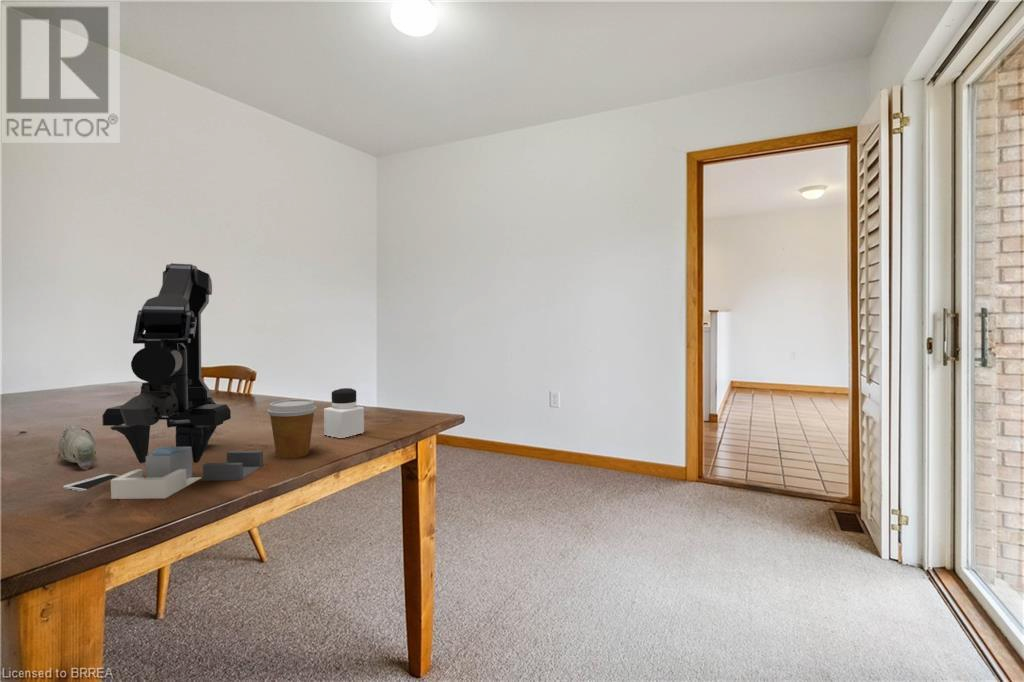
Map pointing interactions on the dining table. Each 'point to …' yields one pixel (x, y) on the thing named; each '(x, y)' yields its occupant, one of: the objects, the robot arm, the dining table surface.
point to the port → (149, 485)
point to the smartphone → (89, 482)
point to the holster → (234, 466)
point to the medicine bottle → (343, 415)
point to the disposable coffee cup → (292, 426)
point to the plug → (169, 461)
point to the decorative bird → (77, 445)
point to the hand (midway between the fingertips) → (169, 462)
